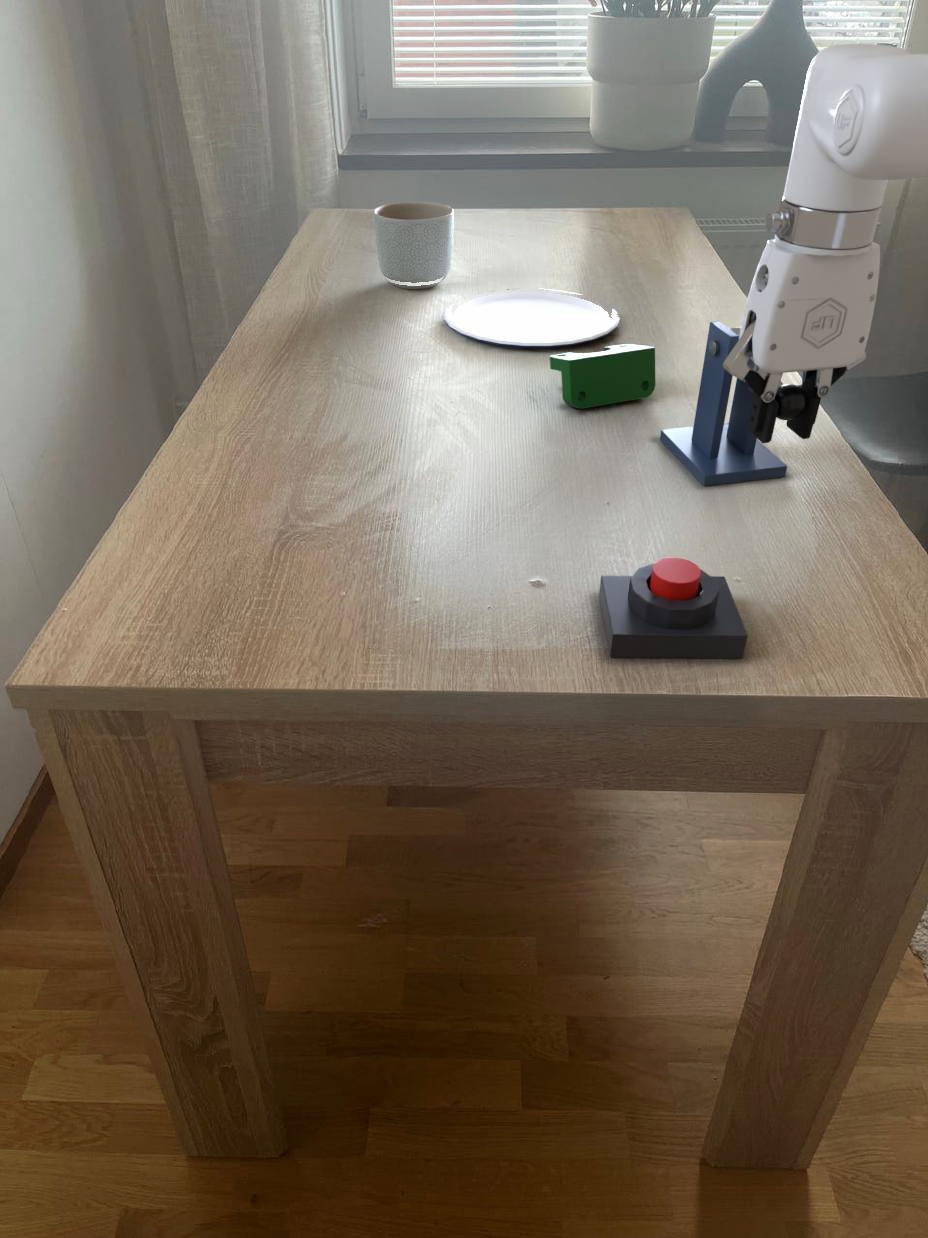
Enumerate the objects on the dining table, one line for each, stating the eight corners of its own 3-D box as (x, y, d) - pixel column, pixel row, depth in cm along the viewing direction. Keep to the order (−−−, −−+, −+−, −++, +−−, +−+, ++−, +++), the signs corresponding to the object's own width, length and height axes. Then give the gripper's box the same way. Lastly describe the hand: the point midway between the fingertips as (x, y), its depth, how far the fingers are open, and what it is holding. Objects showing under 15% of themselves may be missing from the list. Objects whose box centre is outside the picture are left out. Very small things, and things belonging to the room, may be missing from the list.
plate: (409, 316, 134) (409, 307, 133) (539, 285, 146) (539, 277, 145) (520, 367, 118) (521, 357, 117) (656, 327, 130) (657, 318, 129)
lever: (806, 425, 83) (817, 394, 81) (774, 428, 83) (784, 398, 81) (745, 351, 92) (753, 321, 90) (715, 354, 92) (723, 324, 89)
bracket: (785, 476, 93) (816, 342, 85) (703, 486, 92) (726, 350, 84) (735, 431, 102) (759, 306, 94) (659, 439, 100) (676, 312, 92)
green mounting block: (616, 420, 115) (639, 347, 113) (641, 427, 110) (667, 351, 107) (533, 395, 110) (557, 318, 107) (556, 401, 104) (581, 320, 102)
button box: (720, 598, 76) (728, 557, 74) (742, 658, 69) (752, 615, 67) (598, 597, 76) (603, 556, 74) (609, 657, 69) (614, 614, 67)
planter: (365, 277, 149) (361, 205, 143) (435, 268, 154) (434, 198, 147) (393, 299, 140) (390, 223, 134) (467, 288, 145) (467, 214, 138)
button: (692, 576, 72) (696, 557, 71) (701, 602, 69) (705, 583, 68) (646, 576, 72) (649, 556, 71) (653, 602, 69) (656, 583, 68)
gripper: (754, 243, 70) (714, 462, 81) (944, 231, 73) (880, 443, 84) (711, 219, 76) (679, 426, 87) (889, 208, 79) (836, 410, 90)
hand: (778, 432), depth 85 cm, fingers closed on lever, 3 cm apart
